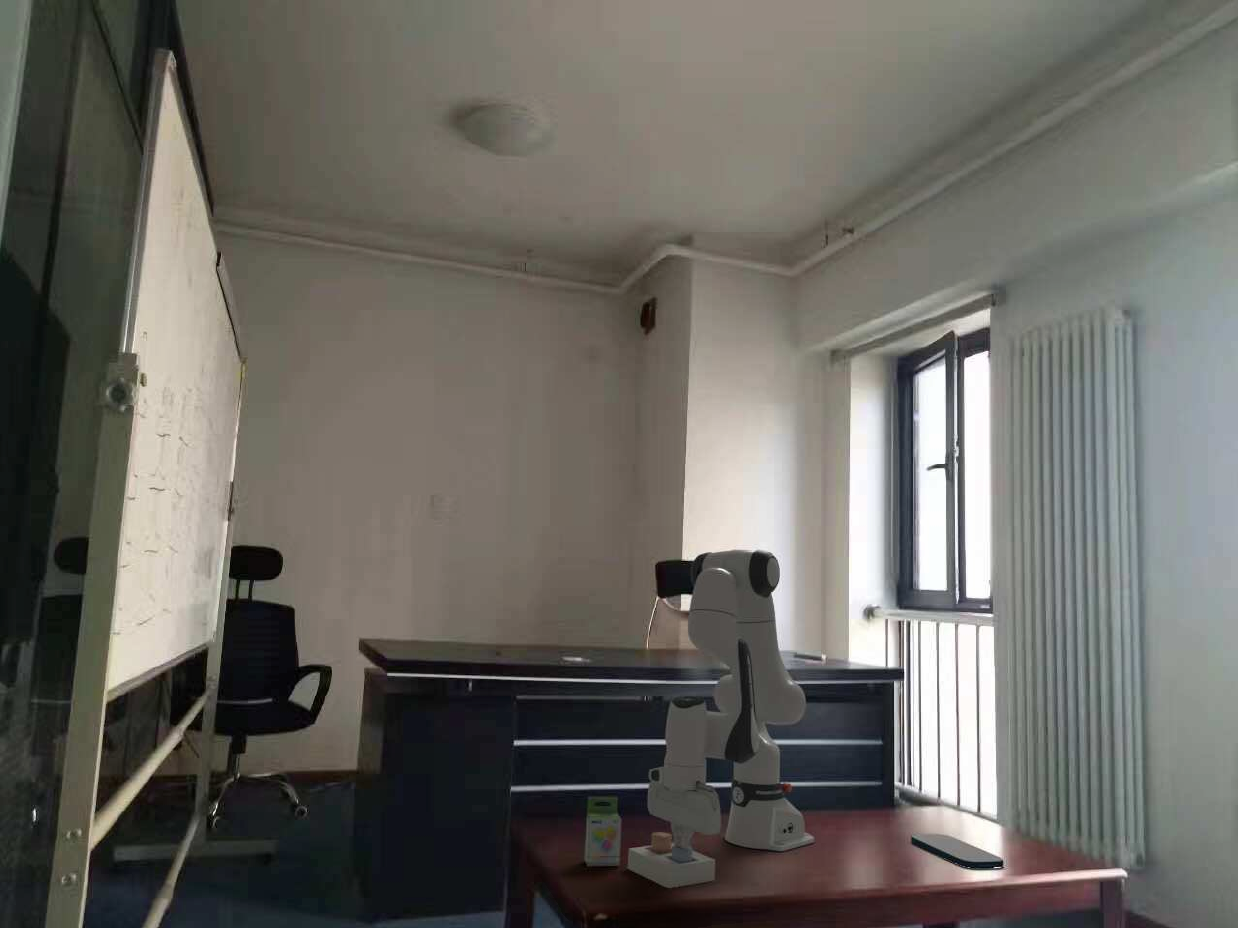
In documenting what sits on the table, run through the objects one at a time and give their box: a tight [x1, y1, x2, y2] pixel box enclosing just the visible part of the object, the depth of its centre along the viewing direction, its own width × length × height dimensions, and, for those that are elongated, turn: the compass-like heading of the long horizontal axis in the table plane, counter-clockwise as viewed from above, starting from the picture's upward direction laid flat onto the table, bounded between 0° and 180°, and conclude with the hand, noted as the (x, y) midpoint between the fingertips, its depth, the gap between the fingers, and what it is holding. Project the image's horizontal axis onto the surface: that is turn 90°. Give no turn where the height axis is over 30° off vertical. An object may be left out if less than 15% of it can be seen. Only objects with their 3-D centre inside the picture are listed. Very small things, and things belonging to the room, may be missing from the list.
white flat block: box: [627, 842, 716, 889], centre depth 184 cm, size 12×14×4 cm
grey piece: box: [672, 845, 694, 864], centre depth 181 cm, size 4×4×4 cm
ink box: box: [583, 796, 622, 867], centre depth 189 cm, size 7×4×13 cm, turn 103°
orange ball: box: [650, 831, 673, 854], centre depth 187 cm, size 4×4×4 cm
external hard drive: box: [910, 833, 1004, 868], centre depth 212 cm, size 24×12×2 cm, turn 16°
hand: (681, 847), depth 182 cm, fingers closed, pressing on grey piece
